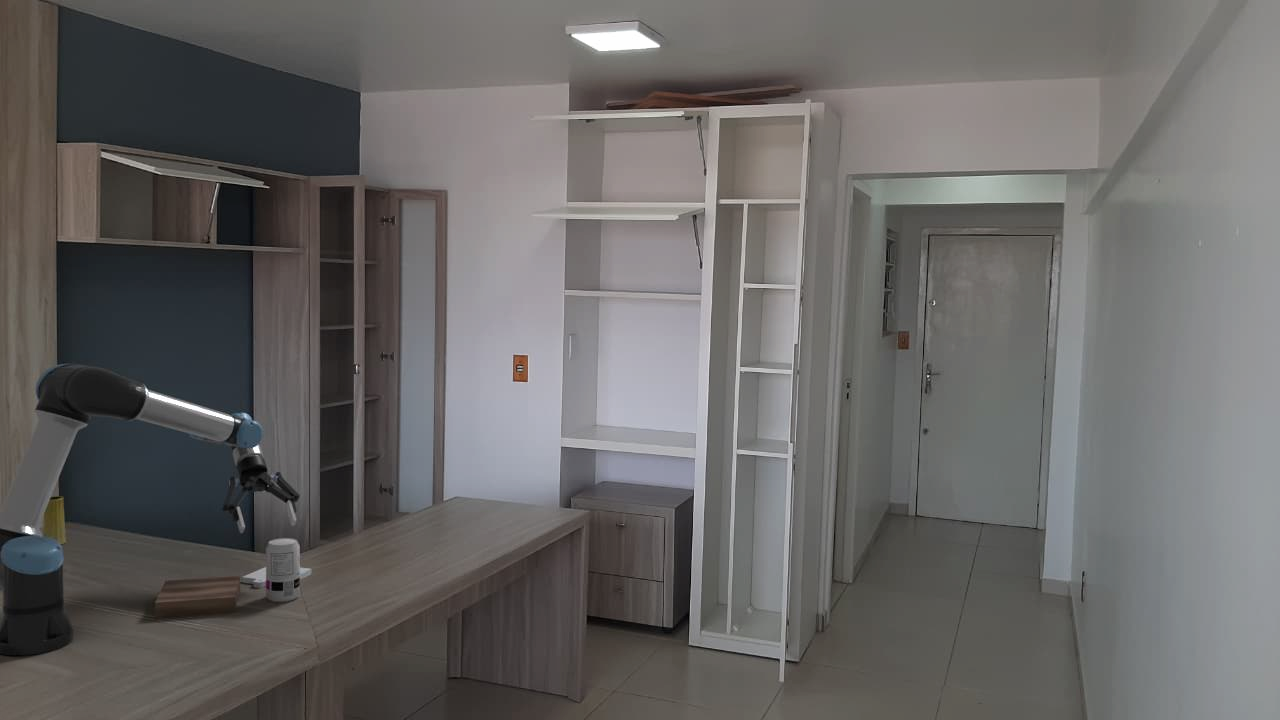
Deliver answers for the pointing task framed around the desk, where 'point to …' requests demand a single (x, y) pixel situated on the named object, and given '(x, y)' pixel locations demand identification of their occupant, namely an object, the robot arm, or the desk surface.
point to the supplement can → (282, 570)
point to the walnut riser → (198, 597)
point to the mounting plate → (260, 577)
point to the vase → (55, 519)
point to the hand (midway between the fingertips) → (268, 526)
